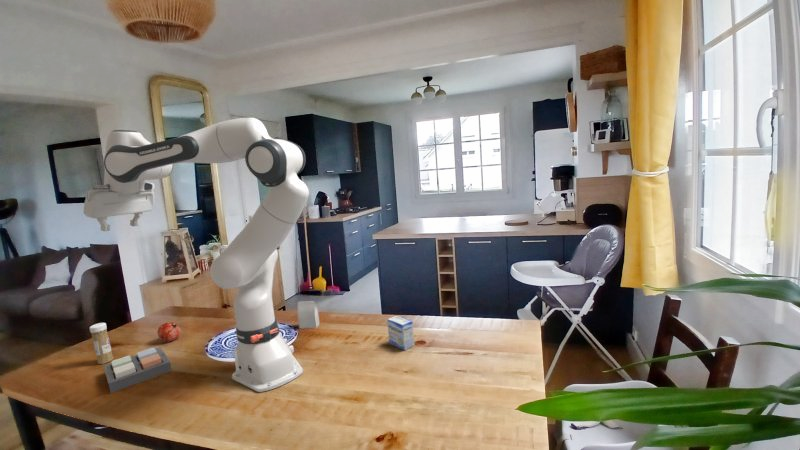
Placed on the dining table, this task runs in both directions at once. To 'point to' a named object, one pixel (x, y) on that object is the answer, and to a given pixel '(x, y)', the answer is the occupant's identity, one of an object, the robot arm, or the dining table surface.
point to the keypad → (137, 372)
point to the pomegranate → (168, 332)
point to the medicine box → (400, 332)
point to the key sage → (121, 361)
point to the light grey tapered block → (308, 315)
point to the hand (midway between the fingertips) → (120, 228)
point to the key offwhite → (124, 370)
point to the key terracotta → (150, 361)
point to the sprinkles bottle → (101, 343)
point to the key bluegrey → (146, 353)
